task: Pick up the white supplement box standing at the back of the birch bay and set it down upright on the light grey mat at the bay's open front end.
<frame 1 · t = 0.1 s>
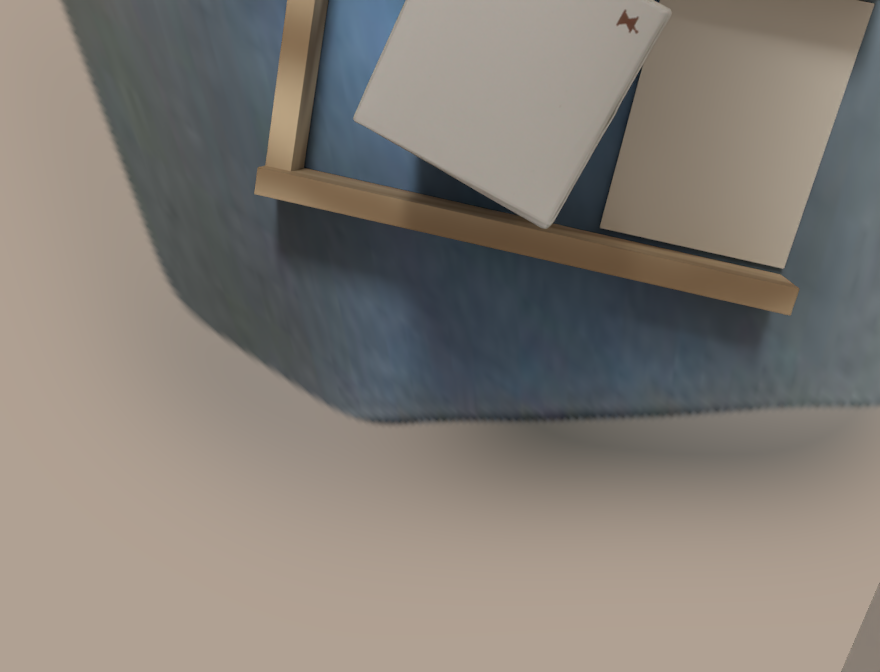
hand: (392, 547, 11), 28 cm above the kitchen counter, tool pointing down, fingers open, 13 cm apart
front mat: (728, 122, 35), on the kitchen counter
bay: (555, 85, 36), on the kitchen counter
supplement box: (522, 78, 36), resting in bay
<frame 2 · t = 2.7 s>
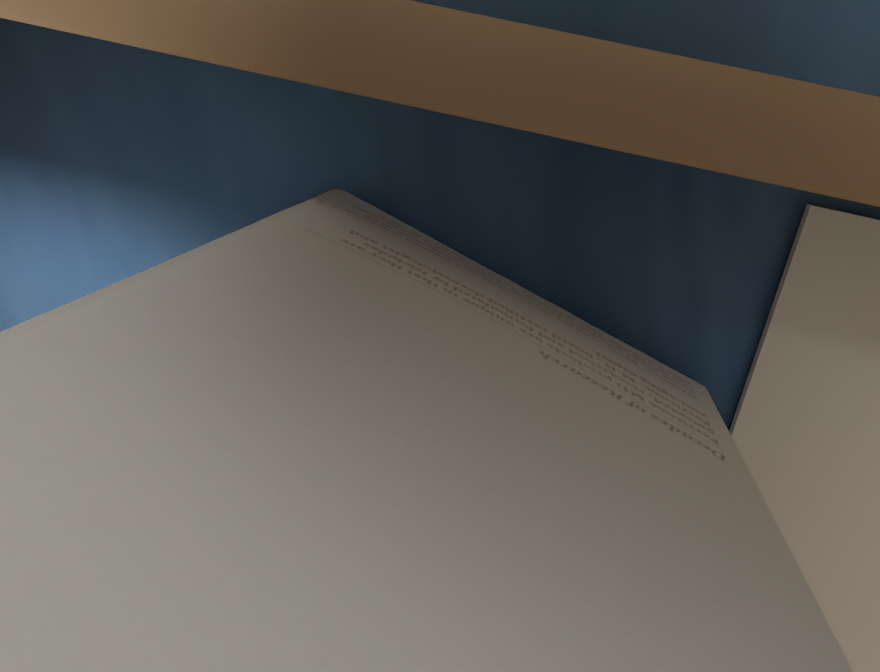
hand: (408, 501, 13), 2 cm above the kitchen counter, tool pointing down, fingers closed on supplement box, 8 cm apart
bay: (506, 471, 14), on the kitchen counter
supplement box: (427, 447, 15), resting in bay, touching gripper
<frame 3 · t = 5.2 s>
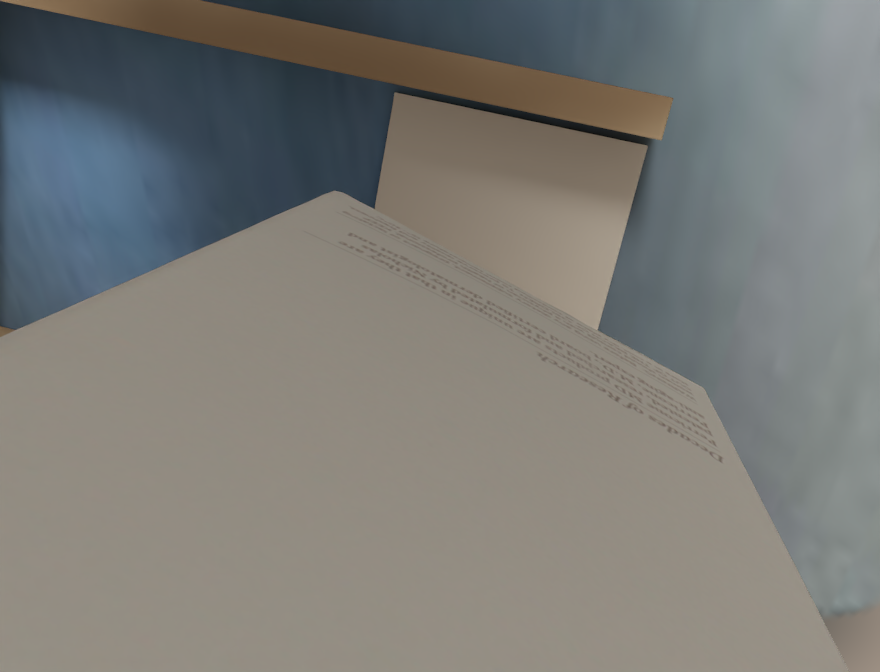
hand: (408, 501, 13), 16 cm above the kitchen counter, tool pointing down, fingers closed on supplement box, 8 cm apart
front mat: (483, 282, 28), on the kitchen counter
bay: (273, 234, 29), on the kitchen counter
supplement box: (426, 448, 15), point 14 cm above the kitchen counter, touching gripper
when the fingers open (3 cm above the kitchen counter, at t = 8.0 s): supplement box stays where it is, resting on front mat.
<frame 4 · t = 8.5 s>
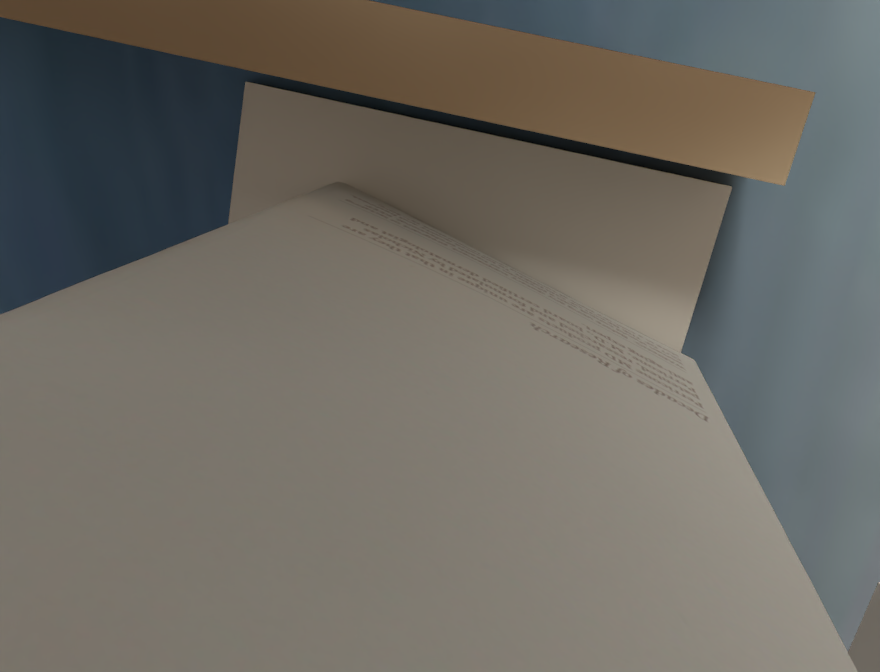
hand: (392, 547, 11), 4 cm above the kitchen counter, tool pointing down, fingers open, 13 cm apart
front mat: (421, 429, 15), on the kitchen counter
bay: (47, 337, 16), on the kitchen counter
supplement box: (431, 427, 15), resting on front mat
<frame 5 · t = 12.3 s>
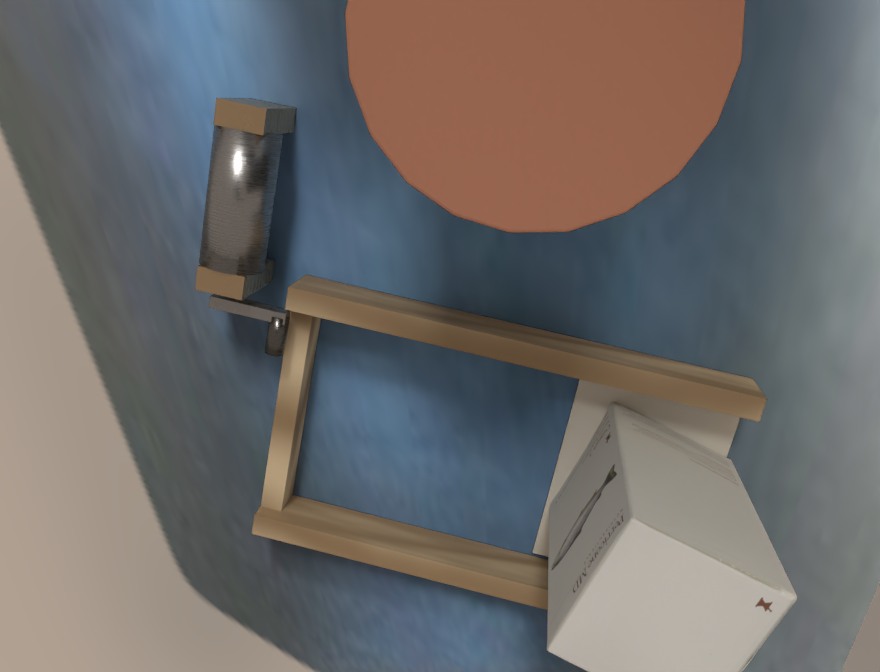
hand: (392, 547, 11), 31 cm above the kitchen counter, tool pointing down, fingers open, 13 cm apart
front mat: (633, 481, 44), on the kitchen counter
winch: (261, 192, 42), on the kitchen counter
bay: (494, 447, 44), on the kitchen counter
supplement box: (637, 480, 44), resting on front mat
coffee jar: (545, 66, 38), on the kitchen counter
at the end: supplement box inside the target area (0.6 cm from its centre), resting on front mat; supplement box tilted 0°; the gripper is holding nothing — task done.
